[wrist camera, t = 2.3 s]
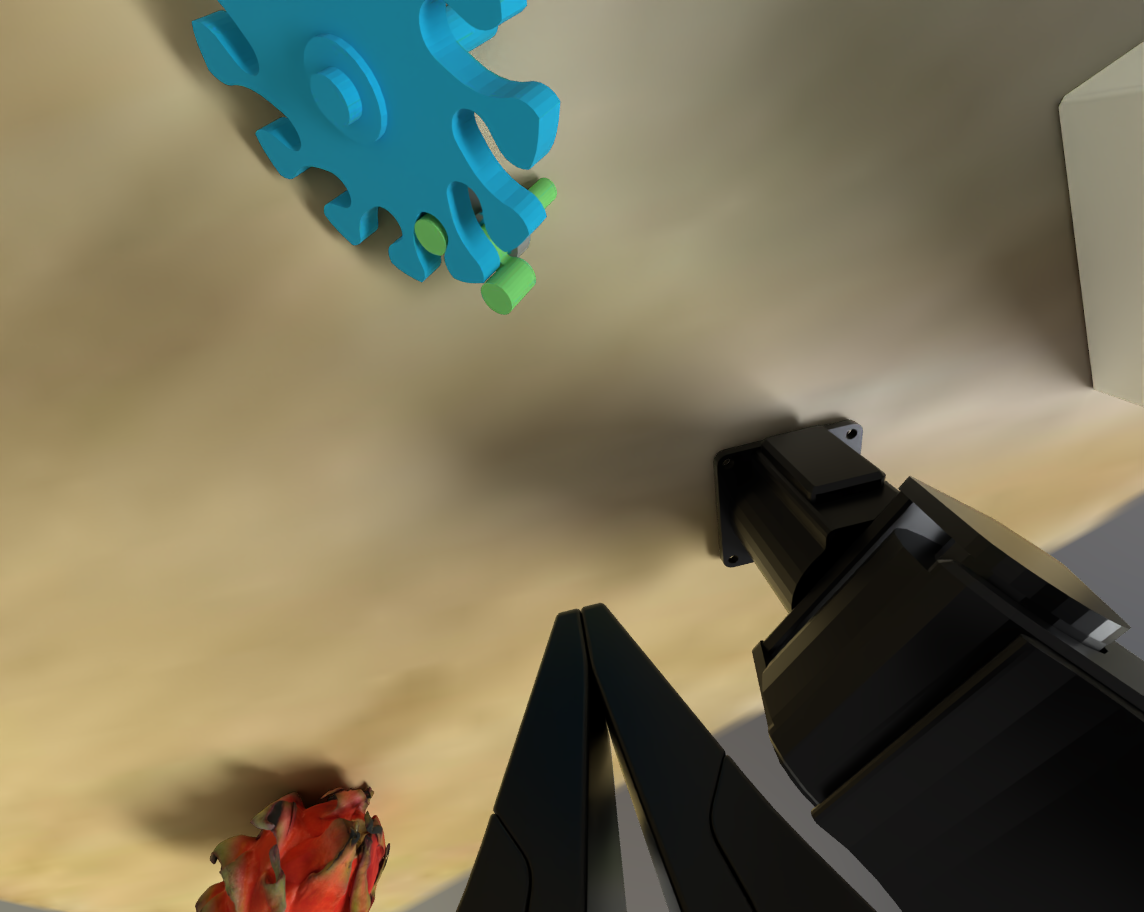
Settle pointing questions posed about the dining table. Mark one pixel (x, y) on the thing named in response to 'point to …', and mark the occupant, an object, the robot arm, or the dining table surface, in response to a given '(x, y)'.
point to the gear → (399, 124)
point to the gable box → (1110, 218)
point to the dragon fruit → (302, 858)
